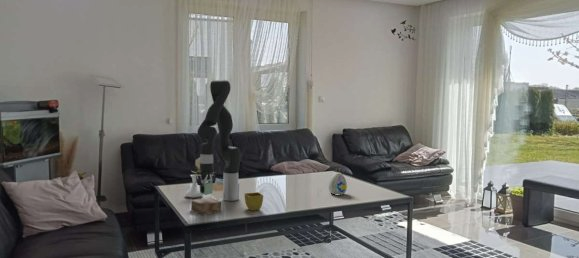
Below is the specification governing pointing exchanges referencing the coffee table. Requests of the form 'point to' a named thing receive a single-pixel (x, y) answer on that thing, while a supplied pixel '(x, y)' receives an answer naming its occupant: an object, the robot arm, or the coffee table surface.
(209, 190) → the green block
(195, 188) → the flower in vase
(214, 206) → the walnut box
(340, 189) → the decorative egg
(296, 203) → the coffee table surface
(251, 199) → the flower pot
